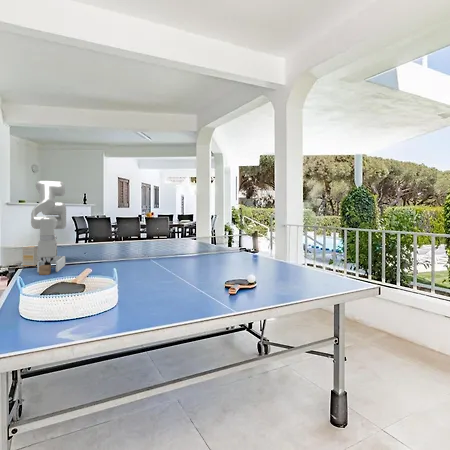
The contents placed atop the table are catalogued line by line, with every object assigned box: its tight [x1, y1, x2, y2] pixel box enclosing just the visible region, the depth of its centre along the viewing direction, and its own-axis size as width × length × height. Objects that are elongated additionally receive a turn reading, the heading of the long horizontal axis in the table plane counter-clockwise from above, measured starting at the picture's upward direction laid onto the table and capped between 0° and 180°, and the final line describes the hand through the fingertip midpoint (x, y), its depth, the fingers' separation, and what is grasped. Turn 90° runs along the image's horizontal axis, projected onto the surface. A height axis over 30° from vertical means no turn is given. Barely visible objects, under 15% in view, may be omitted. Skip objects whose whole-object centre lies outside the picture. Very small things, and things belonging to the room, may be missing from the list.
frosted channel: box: [36, 255, 66, 274], centre depth 216 cm, size 24×11×6 cm, turn 15°
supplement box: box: [21, 245, 39, 267], centre depth 222 cm, size 8×5×13 cm, turn 84°
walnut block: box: [38, 265, 52, 276], centre depth 199 cm, size 5×5×5 cm
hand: (47, 268), depth 205 cm, fingers closed
